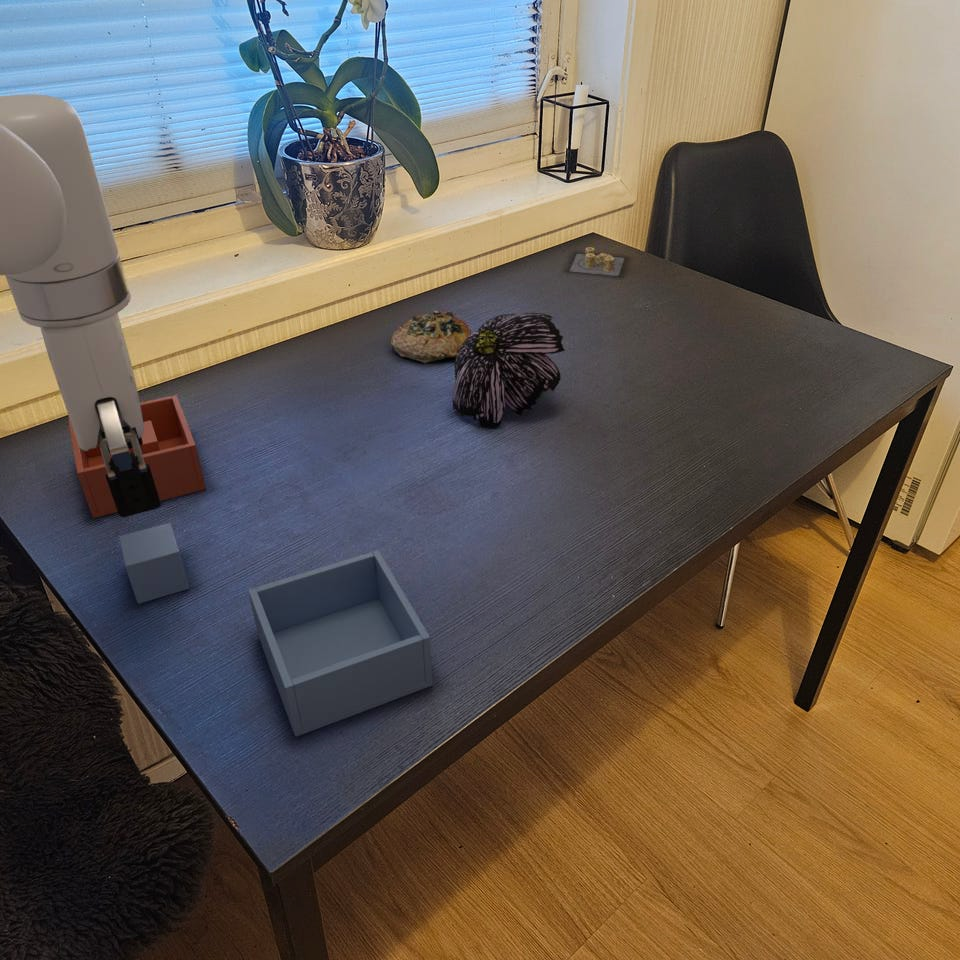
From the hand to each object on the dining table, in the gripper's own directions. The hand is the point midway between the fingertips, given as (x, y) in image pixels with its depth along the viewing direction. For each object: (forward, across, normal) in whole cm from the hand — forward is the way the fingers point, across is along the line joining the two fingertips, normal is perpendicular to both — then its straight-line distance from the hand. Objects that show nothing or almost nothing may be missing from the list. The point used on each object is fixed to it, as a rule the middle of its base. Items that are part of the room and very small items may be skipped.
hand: (132, 478), depth 70 cm
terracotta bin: (+12, -18, +1) cm, 21 cm away
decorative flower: (+12, -14, +43) cm, 47 cm away
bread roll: (+12, -32, +41) cm, 53 cm away
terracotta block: (+11, -18, +1) cm, 21 cm away
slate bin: (+11, +17, +12) cm, 23 cm away
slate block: (+11, 0, 0) cm, 11 cm away
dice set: (+13, -46, +77) cm, 91 cm away
